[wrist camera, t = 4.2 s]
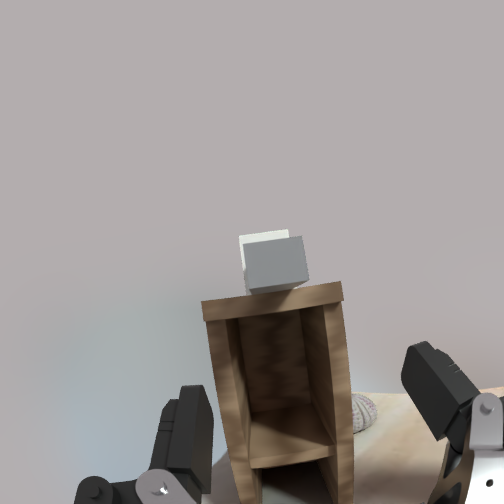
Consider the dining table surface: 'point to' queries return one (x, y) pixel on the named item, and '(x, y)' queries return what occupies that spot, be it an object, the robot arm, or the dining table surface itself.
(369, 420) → the sea urchin shell
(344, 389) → the shelf unit
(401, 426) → the dining table surface
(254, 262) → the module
